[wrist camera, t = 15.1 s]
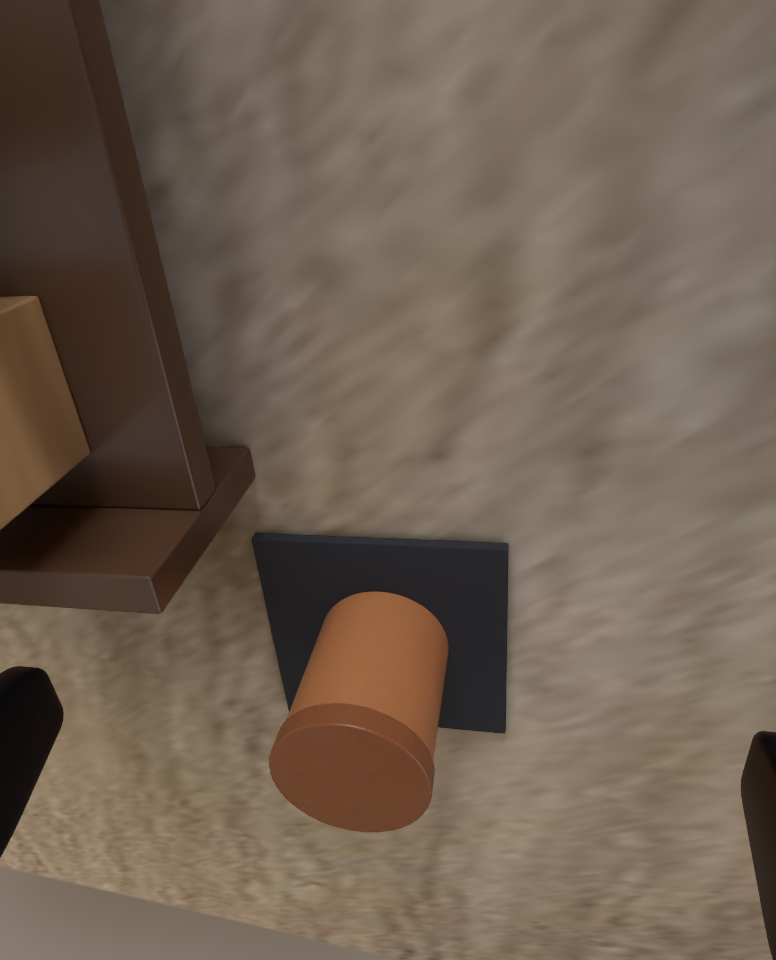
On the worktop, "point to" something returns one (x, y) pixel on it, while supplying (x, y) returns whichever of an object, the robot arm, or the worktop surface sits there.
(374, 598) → the copper tin
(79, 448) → the oak block
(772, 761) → the robot arm
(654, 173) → the worktop surface
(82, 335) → the walnut shelf
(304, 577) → the black rubber mat
